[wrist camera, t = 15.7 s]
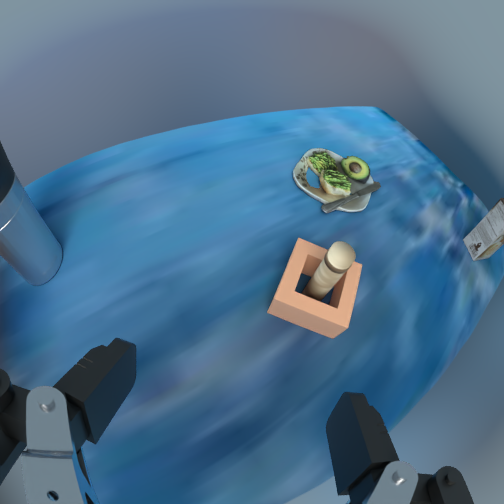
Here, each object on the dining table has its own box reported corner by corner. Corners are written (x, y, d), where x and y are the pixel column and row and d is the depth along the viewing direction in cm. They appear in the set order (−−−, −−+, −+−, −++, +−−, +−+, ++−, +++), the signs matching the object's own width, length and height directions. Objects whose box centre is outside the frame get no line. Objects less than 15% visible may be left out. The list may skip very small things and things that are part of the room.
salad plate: (359, 239, 46) (371, 224, 42) (274, 192, 49) (278, 174, 45) (380, 184, 56) (388, 169, 52) (312, 147, 59) (317, 132, 55)
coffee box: (478, 237, 52) (513, 199, 38) (488, 258, 48) (527, 221, 35) (462, 239, 50) (501, 196, 36) (473, 262, 47) (516, 221, 33)
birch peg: (297, 301, 38) (326, 258, 28) (304, 283, 39) (333, 236, 29) (317, 310, 37) (353, 270, 27) (323, 291, 39) (358, 247, 29)
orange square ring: (267, 312, 36) (273, 298, 32) (290, 256, 42) (298, 237, 37) (332, 338, 35) (347, 328, 31) (348, 280, 40) (362, 264, 36)
